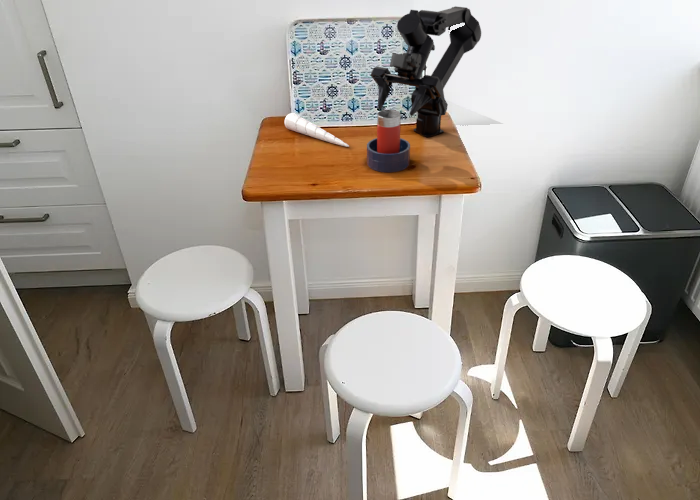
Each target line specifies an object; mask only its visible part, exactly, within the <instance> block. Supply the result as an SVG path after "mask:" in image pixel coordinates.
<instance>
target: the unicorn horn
mask: <svg viewBox="0 0 700 500" xmlns="http://www.w3.org/2000/svg"><path fill="white" fill-rule="evenodd" d="M284 126H285V128H286V129H287V130H290V131H292V132H296V133H299V134H302V135H305V136H309V137H311V138H313V139H318V140H320V141H324V142H327V143H331V144H334V145H338V146H341V147H345V148H349V147H350V145H349V144H348V143H347V142H344V140H342V139H340V138H338V137H336V136H335V135H333V134H332V133H330V132H327V130H325V129H323V128H321V127H320V126H318V125H316V124H315V123H312V122H311V121H309V120H308V119H306V118H304V117H301V116H300V115H299V114H296V113H295V112H290V113H288V114H287V115H286V116H285V118H284Z"/></svg>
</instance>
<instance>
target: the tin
mask: <svg viewBox="0 0 700 500" xmlns="http://www.w3.org/2000/svg"><path fill="white" fill-rule="evenodd" d="M376 116H377V118H376V119H377V123H376V131H377V132H376V138H377V152H379V153H384V154H393V153H399V152H400V138H401V125H402V124H401V116H402V115H401V112H400V111H398V110H396V109H383V110H380V111H378V112H377V115H376Z"/></svg>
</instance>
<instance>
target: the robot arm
mask: <svg viewBox="0 0 700 500" xmlns="http://www.w3.org/2000/svg"><path fill="white" fill-rule="evenodd" d="M460 23H465V25H464V26H462V27H459V28H457V29H455V30H452V31H451V32H450V34H449V33H448V34H449V39H450V40H449V42H450V43H449V45H448V46H447V48H446V49H445V51H444V53H443V54H442V56H441V58H440V60H439V61H438V63H437V65H436V66H435V68H434V70H432V73H431V75H429V74H425V75H423V72H424V71H426V70H427V68H428V66H427V65H426V64H427V62H428V59H429V56H430V54H431V52H433V51H435V49H436V46H435V43H434V39H433V38H432V37H431V36H435V37H436V36H437V37H441V36H442V35H443V34H444V33H446V30H447V31H448V30H450V27H451V26H453V25H456V24H460ZM396 28H397V31H398V33H399V34H400V36H401V38H402V40H403V42H404V43H405V44H406V46H408V47H407V49H406V52H403V53H402V54H401V53H394V52H392V54H391V59H390V63H389V67H391V68H394V72H395V73H397V74H393V73H392V72H391V71H390V70H389V68H387V67H381V66H375V67H373V68H372V70H371V72H370V77H371V79H373V81H374V82H375V84H376V85H377V87H378V88H377V89H378V95H377V96H378V97H377V98H378V99H377V108H378V109H379V110H381V109H382V108H383V106H384V105H385V103H386V100H387V98H388V96H389V95H390V93H391V91H392V90H391V87H392V86H393V83H394V84H399V85H406V86H411V87H414V90H413V91H412V93H411V97H410V102H411V108H410V110H409V115H410V116H411V117H412V116H414V115H415V114H416V113H417V117H416V119H415V120H416V122H415V128H413V132H415V133H417V134H419V135H421V136H423V137H424V138H431V137H434V136H437V135H440V134H444V132H445V131H444V130H443V129H441V123H442V116H446V113H447V111H448V105H449V104H448V101H447V100H446V99H445V92H444V88H445V87H446V85H447V84H448V82H449V80H450V79H451V77H452V75H453V73H454V72H455V69H456V68H457V67H458V64H459V62H460V61H461V59H462V58H463V56H464V54H467V53H468V52H470V51H472V50H473V49H474V48H475V47H476V46H477V45H478V43H479V42H480V40H481V38H482V29H481V25H480V22H479V20H477V19H476V18H475V16H474V15H472V13H471V9H470V8H468V7H464V6H456V5H455V6H452V7H450V8H447V9H442V10H439V11H436V10H435V11H434V10H427V9H426V10H425V9H424V10H423V9H420V10H417V9H410V11H409V13H407V14H405V15H402V17H401V18H399V19H398V20H397V24H396ZM422 75H423V76H422Z"/></svg>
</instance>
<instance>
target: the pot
mask: <svg viewBox="0 0 700 500" xmlns="http://www.w3.org/2000/svg"><path fill="white" fill-rule="evenodd" d="M410 162H411V143H410V142H409V141H408V140H407V139H405V138H402V137H400V152H399V153H393V154H384V153H379V152H377V137H375V138H373V139H371V140H369V141H367V143H366V165H367V167H368V168H370V169H371V170H373V171H376V172H381V173H396V172H397V173H398V172H400V171H404V170H406V169H407V168H409V166H410Z"/></svg>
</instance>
